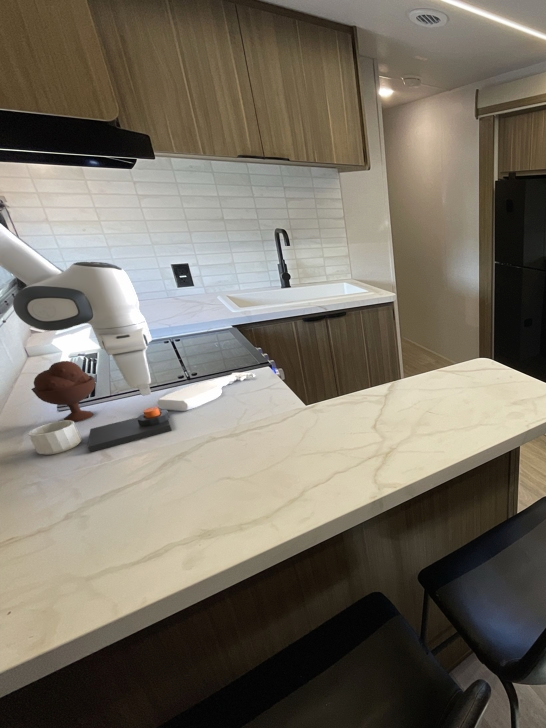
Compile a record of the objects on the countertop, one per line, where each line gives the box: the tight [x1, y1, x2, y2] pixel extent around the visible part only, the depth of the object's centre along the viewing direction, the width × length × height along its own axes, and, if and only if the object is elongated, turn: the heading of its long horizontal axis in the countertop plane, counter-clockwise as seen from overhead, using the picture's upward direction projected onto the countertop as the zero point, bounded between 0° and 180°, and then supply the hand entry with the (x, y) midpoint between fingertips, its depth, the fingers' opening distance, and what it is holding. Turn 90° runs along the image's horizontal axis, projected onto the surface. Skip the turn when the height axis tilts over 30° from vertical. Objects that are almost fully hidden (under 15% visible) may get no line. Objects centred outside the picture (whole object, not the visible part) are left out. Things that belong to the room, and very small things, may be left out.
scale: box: [87, 409, 172, 453], centre depth 94 cm, size 14×11×3 cm
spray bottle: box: [157, 372, 256, 412], centre depth 116 cm, size 3×11×24 cm
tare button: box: [142, 406, 160, 418], centre depth 96 cm, size 3×3×2 cm
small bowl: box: [27, 419, 82, 456], centre depth 88 cm, size 7×7×5 cm
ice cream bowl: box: [31, 360, 96, 423], centre depth 100 cm, size 11×11×15 cm
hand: (146, 393), depth 94 cm, fingers closed
